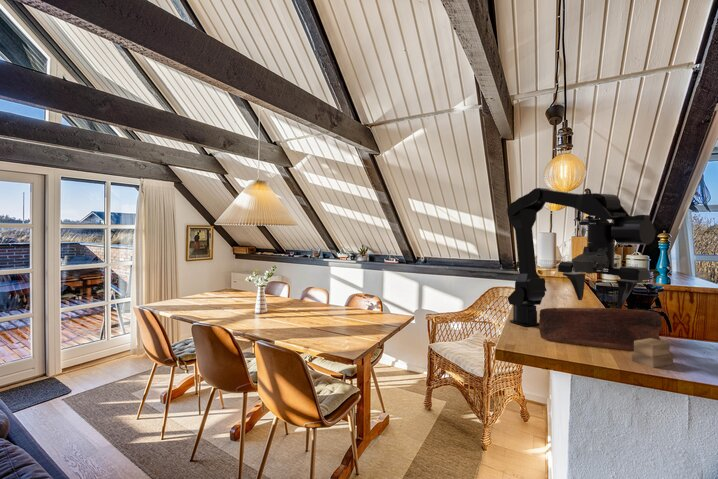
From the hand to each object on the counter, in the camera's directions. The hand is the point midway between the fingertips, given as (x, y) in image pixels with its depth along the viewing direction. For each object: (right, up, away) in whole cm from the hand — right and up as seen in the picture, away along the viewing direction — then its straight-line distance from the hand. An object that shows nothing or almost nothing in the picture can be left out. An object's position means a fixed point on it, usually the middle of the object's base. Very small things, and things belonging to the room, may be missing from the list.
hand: (598, 303), depth 84 cm
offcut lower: (+4, -11, -11) cm, 16 cm away
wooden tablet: (0, -11, 0) cm, 11 cm away
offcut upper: (+4, -9, -11) cm, 15 cm away
